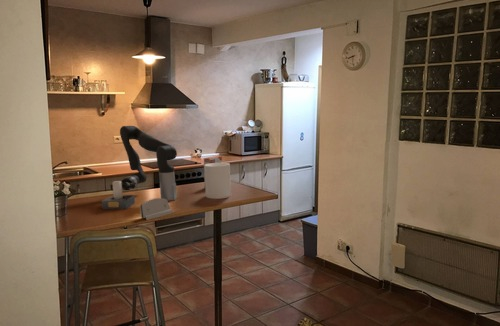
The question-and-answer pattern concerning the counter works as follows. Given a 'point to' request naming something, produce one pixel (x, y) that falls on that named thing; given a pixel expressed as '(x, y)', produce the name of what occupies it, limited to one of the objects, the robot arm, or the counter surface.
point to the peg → (117, 190)
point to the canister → (217, 180)
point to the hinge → (155, 208)
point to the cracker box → (212, 161)
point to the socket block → (118, 202)
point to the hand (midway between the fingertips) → (118, 188)
